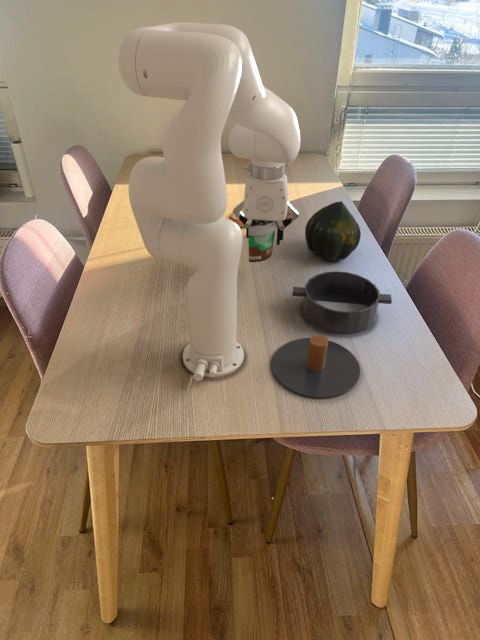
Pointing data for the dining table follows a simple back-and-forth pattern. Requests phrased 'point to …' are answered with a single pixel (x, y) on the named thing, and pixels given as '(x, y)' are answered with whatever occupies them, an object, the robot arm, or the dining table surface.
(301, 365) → the lid
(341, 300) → the pot
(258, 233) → the food container
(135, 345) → the dining table surface
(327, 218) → the squash
